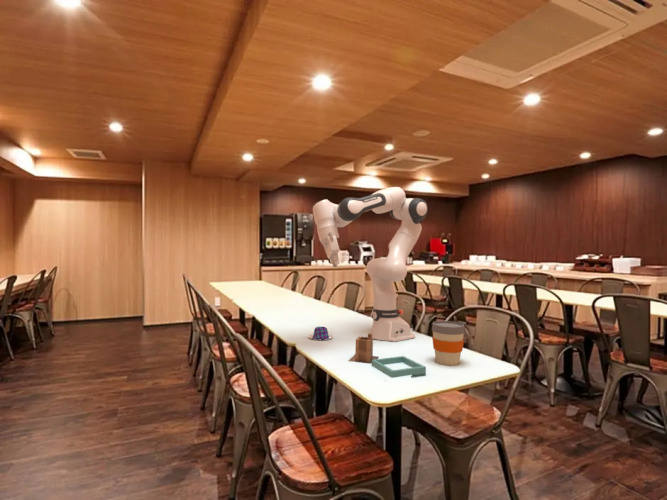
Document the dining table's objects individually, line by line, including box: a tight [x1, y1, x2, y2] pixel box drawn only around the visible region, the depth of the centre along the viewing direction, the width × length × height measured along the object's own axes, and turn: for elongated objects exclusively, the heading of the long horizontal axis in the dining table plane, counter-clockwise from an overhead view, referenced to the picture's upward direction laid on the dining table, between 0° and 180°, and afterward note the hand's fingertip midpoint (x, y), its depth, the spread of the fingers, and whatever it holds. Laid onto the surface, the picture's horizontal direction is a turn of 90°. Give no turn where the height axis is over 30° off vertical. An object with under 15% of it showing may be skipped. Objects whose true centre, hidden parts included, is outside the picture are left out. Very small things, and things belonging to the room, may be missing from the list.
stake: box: [348, 354, 380, 365], centre depth 152 cm, size 10×10×6 cm
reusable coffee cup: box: [431, 320, 466, 366], centre depth 154 cm, size 13×13×15 cm
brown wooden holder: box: [354, 332, 374, 362], centre depth 152 cm, size 6×6×10 cm
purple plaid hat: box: [308, 326, 334, 341], centre depth 189 cm, size 12×12×5 cm
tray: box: [371, 355, 427, 378], centre depth 141 cm, size 14×14×3 cm
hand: (336, 265), depth 170 cm, fingers open, 8 cm apart
